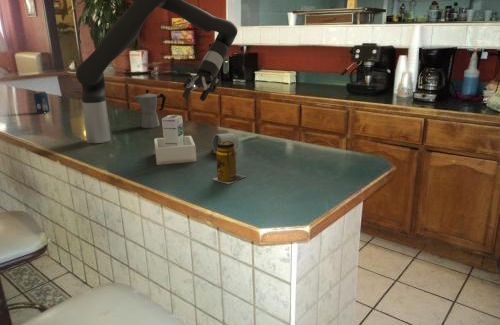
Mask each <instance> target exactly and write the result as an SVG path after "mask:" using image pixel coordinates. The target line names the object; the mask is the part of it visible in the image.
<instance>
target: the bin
mask: <svg viewBox="0 0 500 325" xmlns="http://www.w3.org/2000/svg"><path fill="white" fill-rule="evenodd" d="M184 144H185V146H173V147H165V146H164V137H157V138H154V149H155V160H156V161H155V162H156V165H157V166H158V165H159V166H160V165H169V164H170V165H171V164H181V163H182V164H183V163H193V162H197V148H196V144H195V142H194V139H193V137H192V135H184Z"/></svg>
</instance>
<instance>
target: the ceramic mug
mask: <svg viewBox="0 0 500 325" xmlns="http://www.w3.org/2000/svg"><path fill="white" fill-rule="evenodd" d="M222 141H230V142H233V143H234V150H235V151H236V150H237V149H238V148H239V139H238V137H237V135H236V134H235V133H232V132H231V133H229V132H228V133H227V132H226V133H215V134H214V135H213V137H212V139H211V144H212V145H211V146H212V149H213V152H214V153H215V154H216V153H217V151H218V150H217V144H218V143H219V142H222Z"/></svg>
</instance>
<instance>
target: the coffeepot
mask: <svg viewBox="0 0 500 325" xmlns="http://www.w3.org/2000/svg"><path fill="white" fill-rule="evenodd" d="M160 98H162V99H161V104H160V108H158V111H163V110H164V107H165V104H166V100H167V96H166V95H165V94H164V93H155V94H153V93H150V92H149V89H145V93H143V94H139V95H136V96H134V97H133V99H134V100H136V102H137V103H138V104H139V107H140V110H141V112H142V113H141V120H140V122H141V123H140V127H141V128H143V129H153V128H154V129H155V128H158V127H159V126H160V124H161V123H160V121H159V117H158V113H157V111H156V110H157V107H158V106H157V105H158V99H160Z"/></svg>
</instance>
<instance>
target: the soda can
mask: <svg viewBox="0 0 500 325" xmlns="http://www.w3.org/2000/svg"><path fill="white" fill-rule="evenodd" d="M33 99H34V104H35V109H36V112H37V114H39V113H44V112H49V113H50V111H51V108H50V104H49V98H48V94H47V93H46V91H35V92H34V94H33Z"/></svg>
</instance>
